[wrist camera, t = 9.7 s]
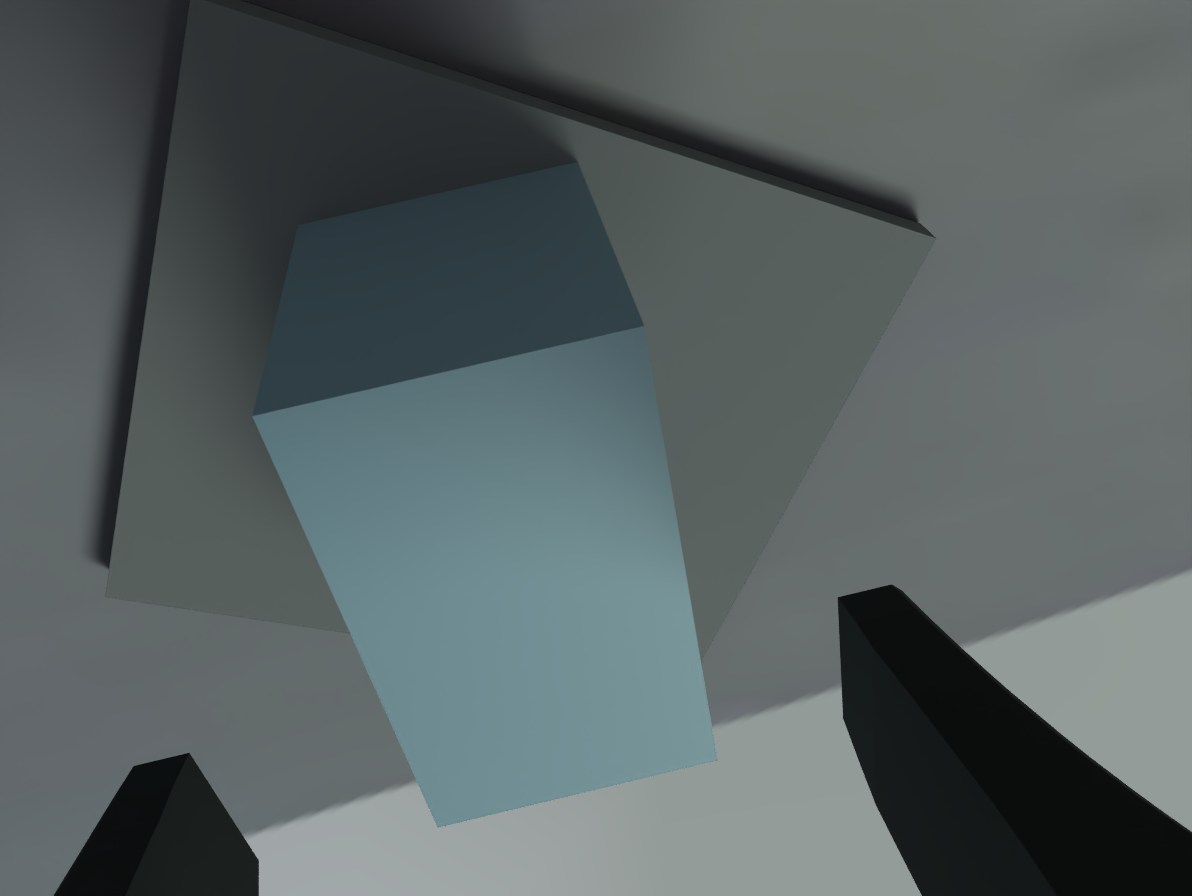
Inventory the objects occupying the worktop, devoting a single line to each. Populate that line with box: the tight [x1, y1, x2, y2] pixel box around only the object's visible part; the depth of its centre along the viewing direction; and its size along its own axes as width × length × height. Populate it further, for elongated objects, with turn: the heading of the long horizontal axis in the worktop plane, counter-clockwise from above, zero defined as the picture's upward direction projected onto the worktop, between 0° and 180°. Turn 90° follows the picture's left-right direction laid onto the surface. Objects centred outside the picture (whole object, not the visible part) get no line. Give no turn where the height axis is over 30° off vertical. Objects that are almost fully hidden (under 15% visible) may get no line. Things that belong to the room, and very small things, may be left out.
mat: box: [105, 0, 936, 661], centre depth 17 cm, size 11×10×1 cm
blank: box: [252, 162, 717, 827], centre depth 14 cm, size 4×7×5 cm, turn 10°
